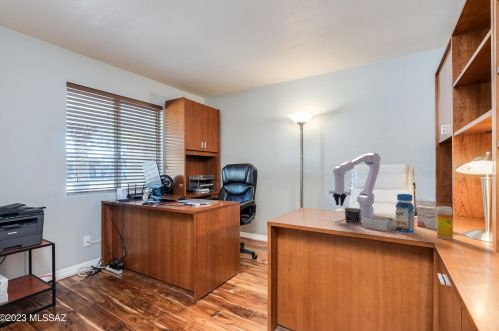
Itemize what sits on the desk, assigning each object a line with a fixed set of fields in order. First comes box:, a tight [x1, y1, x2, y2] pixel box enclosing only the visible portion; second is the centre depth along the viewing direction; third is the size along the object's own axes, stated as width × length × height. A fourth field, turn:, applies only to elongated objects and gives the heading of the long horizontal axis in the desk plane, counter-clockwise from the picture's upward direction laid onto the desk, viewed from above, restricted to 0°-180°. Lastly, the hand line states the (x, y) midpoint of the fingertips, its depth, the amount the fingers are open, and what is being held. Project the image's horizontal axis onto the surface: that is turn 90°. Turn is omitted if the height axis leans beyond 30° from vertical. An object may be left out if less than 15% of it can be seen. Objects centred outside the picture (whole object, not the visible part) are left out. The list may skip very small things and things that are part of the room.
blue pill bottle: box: [394, 193, 415, 235], centre depth 127 cm, size 8×8×20 cm
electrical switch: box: [344, 206, 362, 224], centre depth 150 cm, size 9×5×9 cm, turn 57°
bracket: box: [361, 215, 396, 232], centre depth 138 cm, size 14×13×6 cm
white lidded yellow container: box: [436, 205, 454, 241], centre depth 116 cm, size 6×6×15 cm
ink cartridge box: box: [416, 200, 437, 230], centre depth 138 cm, size 9×5×15 cm, turn 47°
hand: (339, 205), depth 157 cm, fingers open, 2 cm apart
